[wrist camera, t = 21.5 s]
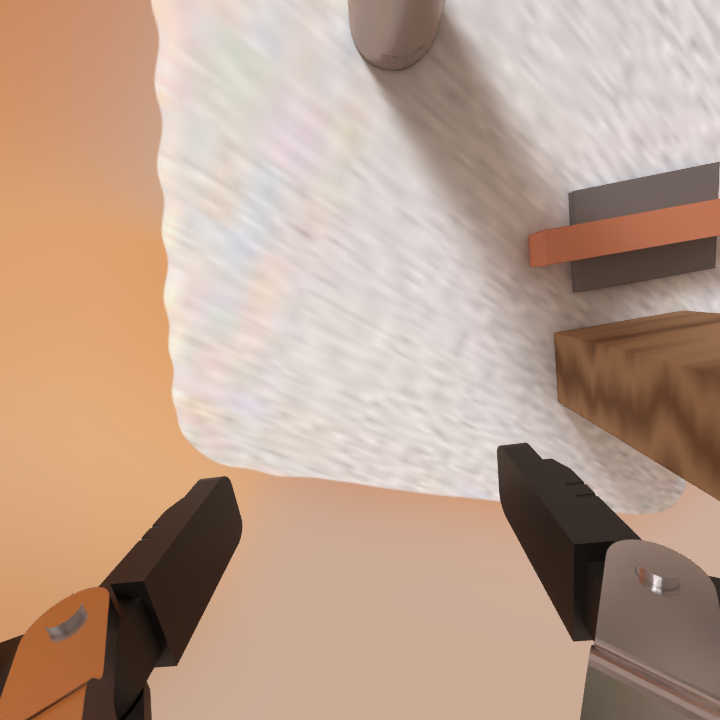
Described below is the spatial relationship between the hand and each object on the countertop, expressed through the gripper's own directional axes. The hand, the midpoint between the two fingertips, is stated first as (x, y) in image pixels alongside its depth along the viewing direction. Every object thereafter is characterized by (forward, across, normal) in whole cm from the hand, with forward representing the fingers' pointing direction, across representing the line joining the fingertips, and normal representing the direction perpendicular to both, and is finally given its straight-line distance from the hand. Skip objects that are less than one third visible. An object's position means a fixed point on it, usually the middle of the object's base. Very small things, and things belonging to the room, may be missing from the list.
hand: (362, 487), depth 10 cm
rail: (+32, -30, -6) cm, 44 cm away
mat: (+33, -32, -6) cm, 46 cm away
